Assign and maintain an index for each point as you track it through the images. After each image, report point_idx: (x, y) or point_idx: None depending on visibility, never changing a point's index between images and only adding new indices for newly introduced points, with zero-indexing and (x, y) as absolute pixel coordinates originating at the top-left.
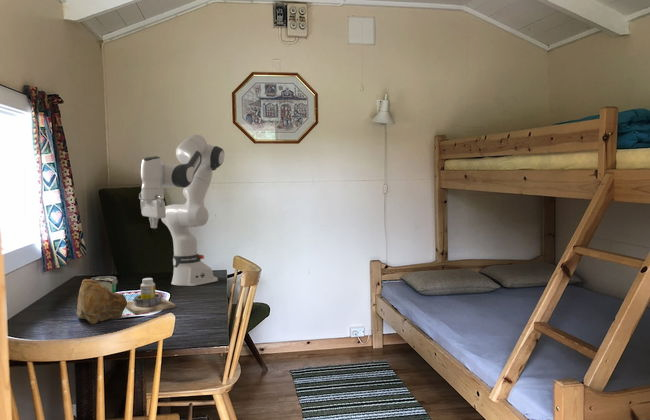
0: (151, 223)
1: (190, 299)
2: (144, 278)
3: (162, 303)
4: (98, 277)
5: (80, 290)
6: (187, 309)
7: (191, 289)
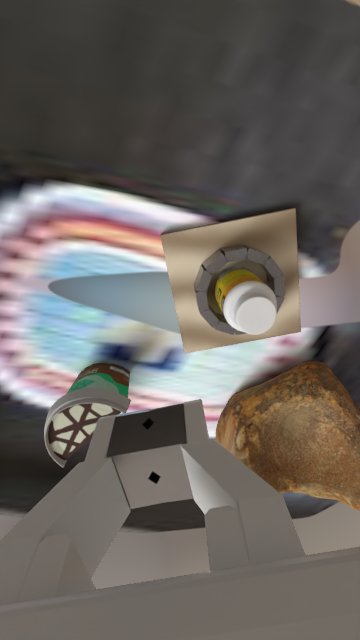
0: (128, 508)
1: (207, 126)
2: (241, 326)
3: (257, 246)
4: (48, 447)
5: (315, 496)
6: (343, 173)
7: (18, 71)
